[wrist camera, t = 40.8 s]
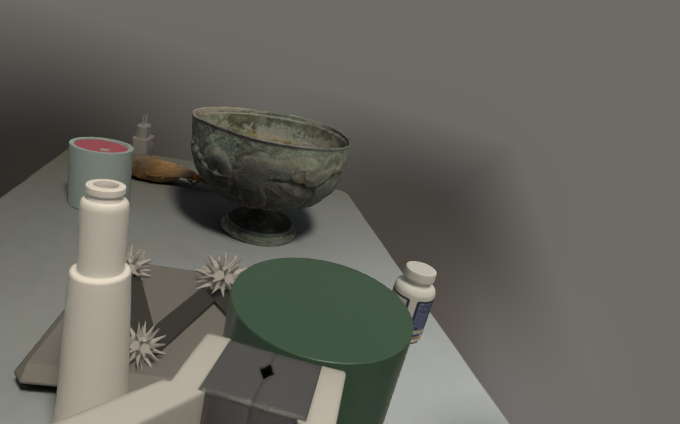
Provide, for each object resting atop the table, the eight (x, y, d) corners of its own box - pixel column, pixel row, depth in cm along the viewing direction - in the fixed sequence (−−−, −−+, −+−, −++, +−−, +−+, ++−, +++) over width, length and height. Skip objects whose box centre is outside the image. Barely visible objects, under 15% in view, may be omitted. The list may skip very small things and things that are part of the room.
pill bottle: (419, 326, 63) (440, 264, 59) (421, 348, 58) (444, 283, 54) (381, 315, 63) (400, 254, 60) (380, 337, 58) (401, 271, 55)
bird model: (110, 169, 92) (111, 146, 90) (215, 186, 96) (218, 164, 95) (100, 178, 86) (101, 153, 85) (212, 195, 91) (215, 172, 89)
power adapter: (152, 167, 99) (157, 113, 95) (144, 174, 94) (149, 117, 90) (137, 164, 98) (141, 110, 94) (128, 171, 93) (133, 114, 89)
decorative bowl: (360, 255, 79) (385, 144, 73) (224, 277, 63) (240, 137, 56) (282, 203, 98) (297, 111, 91) (162, 210, 82) (170, 99, 75)
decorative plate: (7, 394, 37) (5, 323, 35) (103, 271, 57) (106, 220, 55) (352, 425, 43) (370, 365, 41) (331, 303, 63) (342, 258, 61)
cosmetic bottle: (31, 494, 31) (32, 195, 24) (54, 424, 36) (61, 162, 29) (128, 484, 33) (156, 208, 26) (136, 419, 38) (162, 175, 31)
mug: (120, 216, 73) (125, 157, 70) (58, 207, 71) (59, 146, 68) (141, 189, 86) (145, 138, 82) (88, 181, 84) (90, 128, 80)
